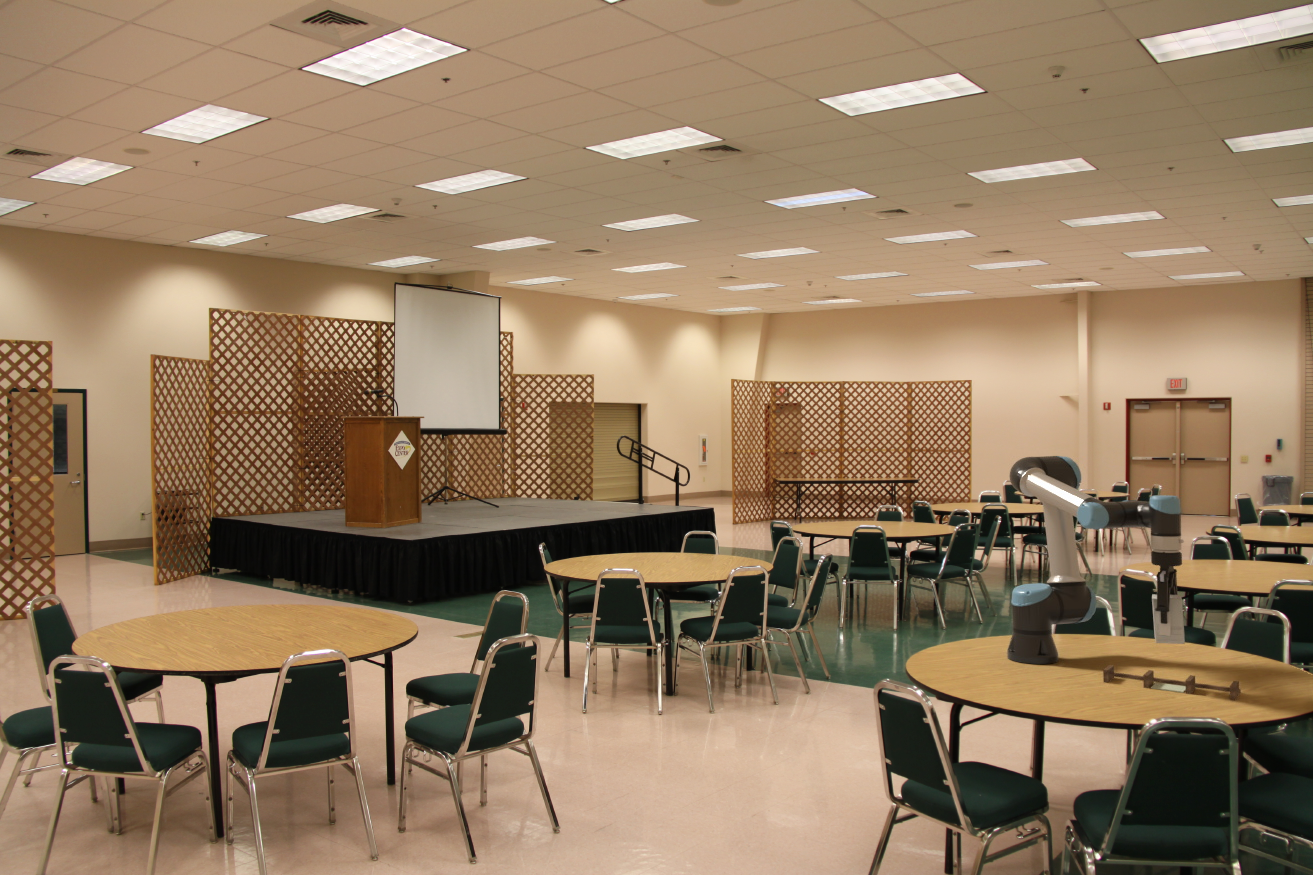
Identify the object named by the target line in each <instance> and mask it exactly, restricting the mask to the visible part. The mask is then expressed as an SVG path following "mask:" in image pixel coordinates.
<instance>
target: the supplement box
mask: <svg viewBox="0 0 1313 875" xmlns="http://www.w3.org/2000/svg"><path fill="white" fill-rule="evenodd" d="M1151 602H1152V603H1151V604H1152V616H1153V617H1152V619H1153V631H1154V641H1155V644H1168V645H1169V644H1171V645H1172V644H1176V645H1185V644H1186V640H1185V625H1184V624H1185V623H1184V609H1183V599H1182V596H1181V594H1178V595H1170V603H1169V612H1170V621H1171V636H1167V635H1159V611H1155V608H1157V593H1156V594H1153V593H1152V595H1151Z"/></svg>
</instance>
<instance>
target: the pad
mask: <svg viewBox="0 0 1313 875" xmlns="http://www.w3.org/2000/svg"><path fill="white" fill-rule="evenodd" d="M1150 689H1154V690H1161V691H1170V692H1175V693H1176V692H1177V693H1182V694H1183V693H1186V686H1183V685H1175V684H1167V683H1160V682H1154V683H1153V684H1152V685H1151V686H1150Z"/></svg>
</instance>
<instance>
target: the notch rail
mask: <svg viewBox="0 0 1313 875" xmlns="http://www.w3.org/2000/svg"><path fill="white" fill-rule="evenodd" d="M1102 670H1103V674H1102V678H1103V680H1102V681H1103V683H1110V682H1111V681H1112V680H1114V678H1115V677H1117V678H1122V679H1123V678H1124V679H1131V680H1138V681H1139V680H1140V681H1143V682H1142V683H1143V689H1144V688H1145V689H1149V688H1151V687H1152V686H1153V685H1154V684H1155V683H1156V682H1157V683H1164V684H1172V685H1179V686H1186V690H1185V694H1187V695H1192V693H1193V692H1194V691H1195V690H1196V688H1200V689H1206V690H1212V691H1213V690H1215V691H1222V692H1227V693H1229V700H1232V701H1236V700H1237V699H1238V697H1239V696H1240V693H1241V690H1242V689H1241V688H1240V681H1238V680H1233V681H1232V683H1231V684H1230V685H1229V686H1222V685H1216V684H1209V683H1208V684H1207V683H1199V682H1196V675H1191V674H1190V675H1189V676H1188V677H1187V678H1186V679H1185V680H1176V679H1168V678H1161V677H1154V673H1155V672H1154V670H1153V669H1148V670H1147V671H1146V672H1145V673H1144V674H1143V675H1138V674H1131V673H1121V672H1115V666H1114V665H1113V664H1112V665H1111V664H1109V665H1107V667H1105V668H1104V669H1102Z"/></svg>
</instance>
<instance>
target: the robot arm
mask: <svg viewBox="0 0 1313 875" xmlns="http://www.w3.org/2000/svg"><path fill="white" fill-rule="evenodd" d="M1009 480H1010V484H1011V485H1012V487H1013V488H1014V489H1015V490H1017V492H1019V493H1021V494H1022V495H1024V496H1027V497H1030V498H1031V497H1032V498H1033V497H1035V498H1036V499H1037V500H1038V501H1039V502H1041V504H1042V508H1043V509H1042V510H1043V517H1044V518H1043V519H1044V527H1045V534H1046V537H1045V538H1046V544H1047V551H1048V553H1047V554H1048V560H1049V570H1050V577H1049V578H1048V579H1047V580H1046V583H1041V582H1036V583H1026V584H1021V585H1018V586H1016V587H1014V588H1013V590H1012V594H1011V601H1010V603H1011V613H1012V614H1011V618H1012V634H1011V636H1010V641H1009V644H1008V647H1007V652H1006V654H1007V656H1006V657H1007V659H1009V660H1011V661H1013V662H1017V663H1018V662H1019V663H1022V664H1034V665H1045V664H1054V663H1055V664H1056V663H1057V662H1059V652H1058V649H1057V646H1056V643H1055V640H1054V638H1053V629H1052V628H1053V627H1052V626H1053V625H1063V624H1079V623H1083V622H1087V621H1089V620H1090V619H1092V617H1093V615H1095V612H1096V609H1097V596H1096V593H1095V592H1094V591H1093V589H1092V588H1091V587H1090V586H1088V585H1087V582H1086V581H1087V580H1086V579H1085V578H1083V577H1082V576H1081V574H1080V567H1079V559H1078V558H1079V556H1078V548H1077V542H1076V541H1077V540H1076V533H1075V526H1074V525H1075V524H1074V517H1075V518H1076V519H1077V520H1078V523H1079V524H1080V526H1081V527H1082V528H1084V529H1086V530H1087V529H1088V530H1105V529H1124V528H1125V529H1127V528H1147V529H1150V549H1151V550H1152V551H1151V553H1150V556H1151V557H1150V558H1151V564H1152V565H1153V566H1159V571H1158V572H1157V574H1156V585H1157V586H1156V594H1157V608H1155V611H1159V635H1167V636H1171V621H1170V612H1169V603H1170V595H1179V594H1178V580H1177V574H1178V573H1177V571H1178V569H1177V568H1175V567H1180V566H1181V565H1182V564H1183V554H1182V552H1181V550H1182V544H1183V543H1185V541H1184V539H1183V538H1182V507H1181V499H1180V497H1179V496H1177V495H1167V494H1166V495H1164V494H1162V495H1161V494H1160V495H1159V494H1158V495H1151V496H1150V497H1149V501H1142V500H1136V499H1130V500H1129V499H1128V500H1127V499H1126V500H1122V501H1103V500H1100V499H1098V498H1096V497H1093V496H1092V495H1089V494H1088V493H1086V492H1083V491H1081V490H1079V488H1080V486H1081V483H1082V473H1081V470H1080V467H1079V465H1078V464H1077V462H1076V461H1074V460H1073V459H1072V458H1071V457H1068V456H1063V455H1062V456H1060V455H1051V456H1027V457H1023V458H1021V459H1018V460H1017V461H1016V462H1015V463H1013V465H1012V466H1011V468H1010V470H1009Z"/></svg>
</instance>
